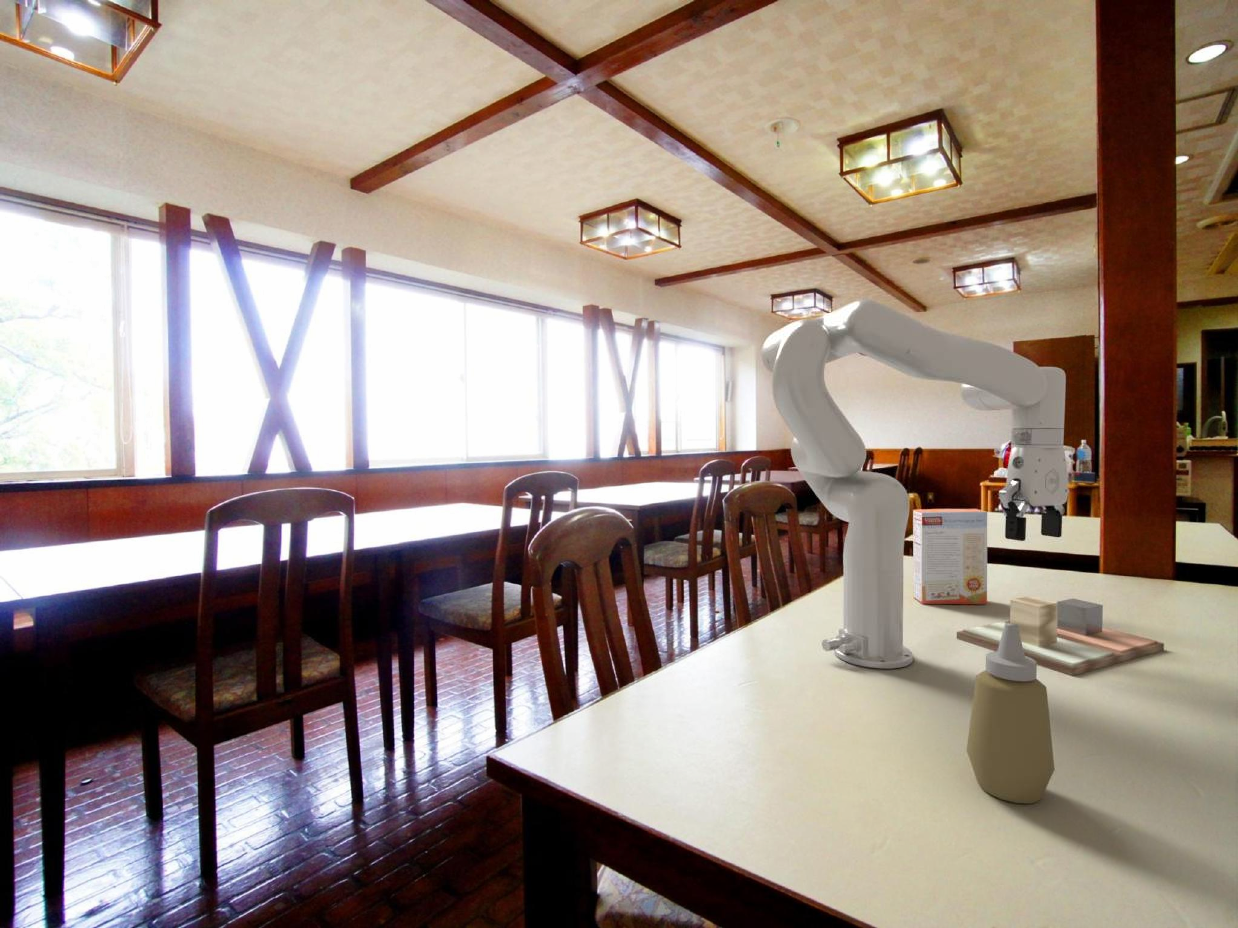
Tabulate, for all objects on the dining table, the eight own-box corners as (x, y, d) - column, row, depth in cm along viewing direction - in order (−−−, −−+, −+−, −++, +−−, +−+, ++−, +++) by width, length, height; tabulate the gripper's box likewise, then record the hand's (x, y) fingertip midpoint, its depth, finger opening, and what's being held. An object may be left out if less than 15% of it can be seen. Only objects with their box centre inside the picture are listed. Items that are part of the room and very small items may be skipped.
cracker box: (975, 598, 143) (976, 507, 142) (987, 605, 137) (989, 511, 136) (911, 597, 145) (912, 508, 144) (921, 604, 139) (922, 511, 138)
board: (1071, 675, 98) (1072, 665, 98) (956, 638, 116) (956, 629, 116) (1163, 649, 108) (1164, 640, 108) (1044, 619, 126) (1045, 611, 126)
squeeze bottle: (1019, 768, 71) (1022, 612, 70) (1073, 810, 63) (1077, 636, 62) (950, 770, 71) (952, 614, 70) (995, 813, 63) (998, 638, 62)
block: (1038, 646, 106) (1039, 606, 106) (1009, 638, 111) (1010, 599, 110) (1056, 642, 108) (1057, 602, 108) (1027, 634, 113) (1028, 596, 112)
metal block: (1085, 635, 111) (1086, 608, 111) (1056, 628, 116) (1056, 601, 116) (1102, 631, 113) (1102, 604, 113) (1072, 624, 118) (1073, 598, 118)
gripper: (1026, 439, 101) (1022, 544, 101) (1090, 439, 108) (1086, 538, 109) (982, 439, 108) (979, 537, 108) (1046, 439, 115) (1042, 531, 115)
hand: (1033, 537), depth 108 cm, fingers open, 9 cm apart
